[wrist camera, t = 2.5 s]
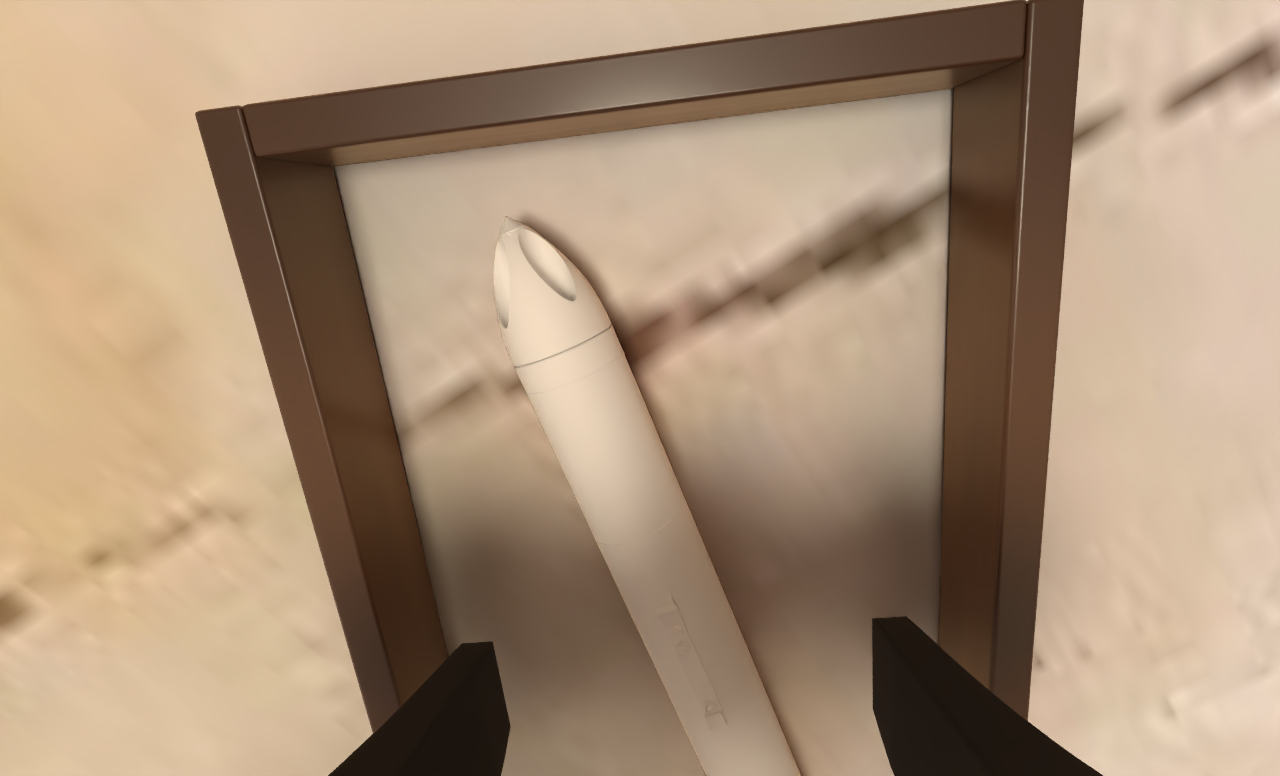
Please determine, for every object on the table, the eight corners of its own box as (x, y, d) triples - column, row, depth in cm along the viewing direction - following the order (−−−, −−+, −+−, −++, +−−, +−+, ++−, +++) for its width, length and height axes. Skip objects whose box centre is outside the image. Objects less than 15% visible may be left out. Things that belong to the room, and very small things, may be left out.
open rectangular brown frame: (960, 900, 17) (1006, 1013, 15) (482, 913, 18) (454, 1020, 16) (998, 35, 11) (1088, -12, 9) (285, 128, 12) (192, 110, 10)
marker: (473, 235, 13) (430, 241, 10) (566, 194, 12) (542, 191, 10) (760, 859, 17) (774, 958, 15) (834, 840, 17) (860, 940, 15)
